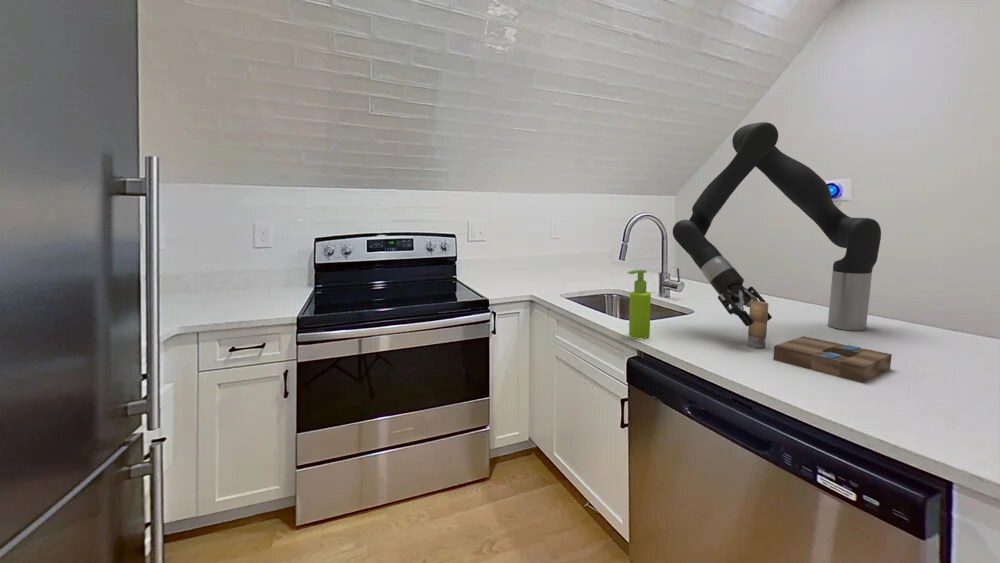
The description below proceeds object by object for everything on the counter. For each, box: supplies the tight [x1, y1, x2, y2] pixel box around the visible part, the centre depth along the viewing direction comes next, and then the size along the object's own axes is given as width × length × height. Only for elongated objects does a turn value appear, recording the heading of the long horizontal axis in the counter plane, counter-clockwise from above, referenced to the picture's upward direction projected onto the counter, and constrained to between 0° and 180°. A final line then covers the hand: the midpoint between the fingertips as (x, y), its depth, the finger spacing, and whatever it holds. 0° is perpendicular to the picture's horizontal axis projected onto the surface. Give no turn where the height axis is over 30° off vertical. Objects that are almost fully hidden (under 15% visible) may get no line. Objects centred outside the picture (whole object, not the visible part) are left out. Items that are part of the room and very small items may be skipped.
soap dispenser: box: [627, 269, 652, 339], centre depth 127 cm, size 6×7×20 cm
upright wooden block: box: [747, 300, 769, 349], centre depth 115 cm, size 4×4×12 cm
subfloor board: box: [772, 335, 892, 384], centre depth 101 cm, size 14×18×4 cm
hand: (759, 322), depth 115 cm, fingers open, 8 cm apart
